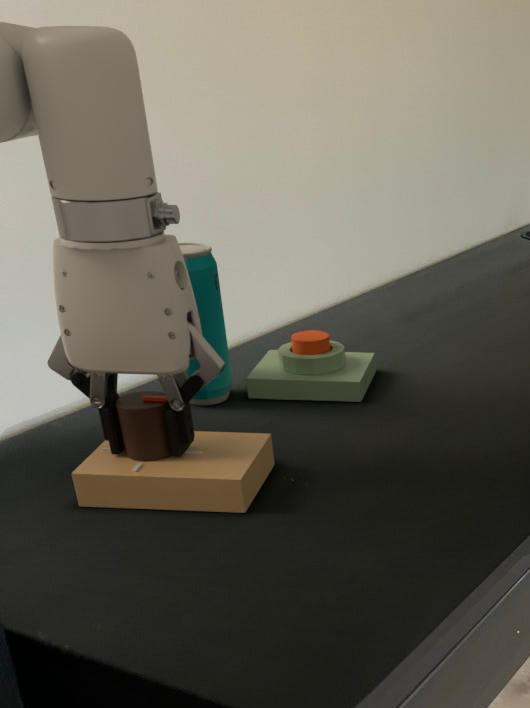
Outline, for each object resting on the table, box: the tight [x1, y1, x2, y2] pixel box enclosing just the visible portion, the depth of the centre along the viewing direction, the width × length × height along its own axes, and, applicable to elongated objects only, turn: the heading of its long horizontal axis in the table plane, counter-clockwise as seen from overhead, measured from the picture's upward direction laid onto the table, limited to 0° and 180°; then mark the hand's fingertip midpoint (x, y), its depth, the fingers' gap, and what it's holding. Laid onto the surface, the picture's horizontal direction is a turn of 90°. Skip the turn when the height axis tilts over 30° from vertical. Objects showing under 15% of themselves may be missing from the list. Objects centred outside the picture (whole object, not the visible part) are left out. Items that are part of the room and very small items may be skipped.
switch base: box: [245, 339, 377, 403], centre depth 107 cm, size 12×10×4 cm
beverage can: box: [178, 242, 233, 406], centre depth 100 cm, size 6×6×15 cm
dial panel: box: [71, 430, 275, 514], centre depth 85 cm, size 14×10×3 cm
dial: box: [115, 390, 173, 461], centre depth 83 cm, size 4×4×5 cm
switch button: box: [290, 330, 331, 355], centre depth 105 cm, size 4×4×2 cm
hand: (151, 447), depth 84 cm, fingers closed on dial, 4 cm apart
